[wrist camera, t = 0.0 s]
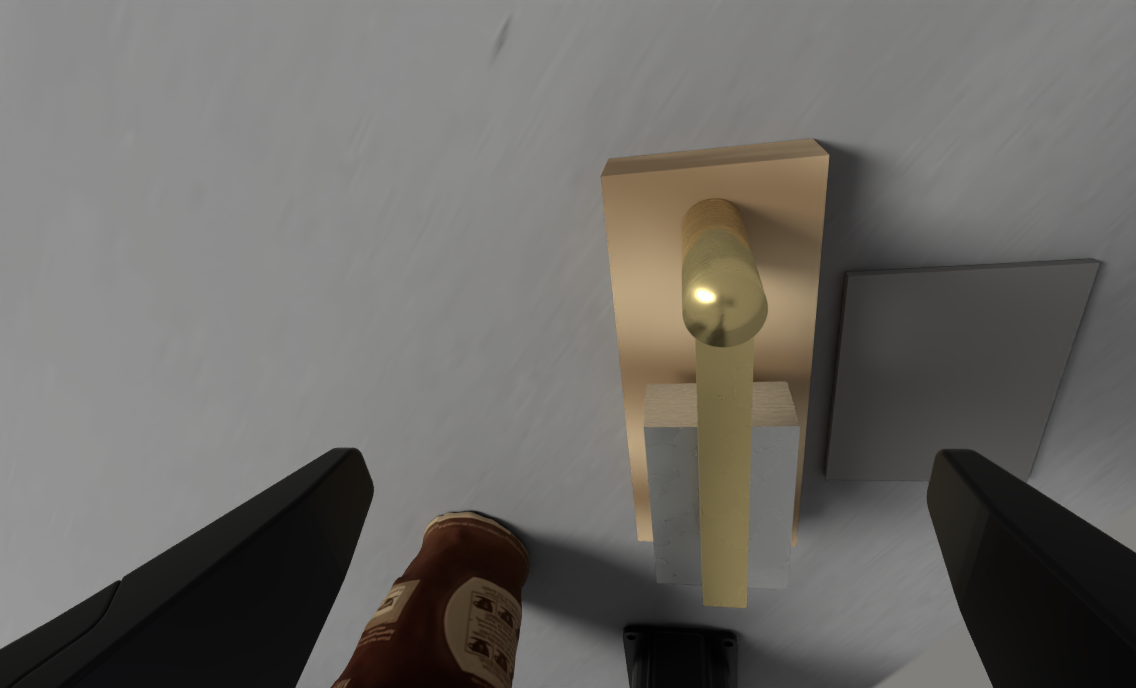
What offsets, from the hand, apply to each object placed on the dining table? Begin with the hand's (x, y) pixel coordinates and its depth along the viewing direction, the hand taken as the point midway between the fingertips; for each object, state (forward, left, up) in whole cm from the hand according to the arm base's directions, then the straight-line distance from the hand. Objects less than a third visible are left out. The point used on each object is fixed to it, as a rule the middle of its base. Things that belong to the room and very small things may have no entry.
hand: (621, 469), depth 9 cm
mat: (-8, -11, -15) cm, 20 cm away
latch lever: (-5, -2, -12) cm, 13 cm away
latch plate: (-7, -2, -15) cm, 16 cm away
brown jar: (-19, +11, -15) cm, 27 cm away
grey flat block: (-9, -2, -11) cm, 14 cm away
